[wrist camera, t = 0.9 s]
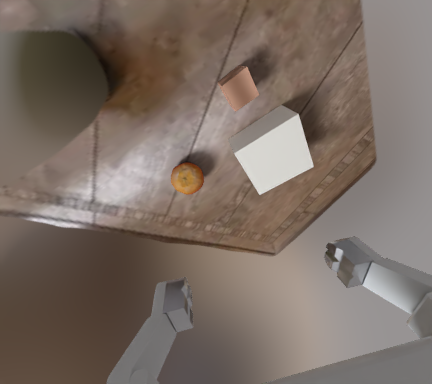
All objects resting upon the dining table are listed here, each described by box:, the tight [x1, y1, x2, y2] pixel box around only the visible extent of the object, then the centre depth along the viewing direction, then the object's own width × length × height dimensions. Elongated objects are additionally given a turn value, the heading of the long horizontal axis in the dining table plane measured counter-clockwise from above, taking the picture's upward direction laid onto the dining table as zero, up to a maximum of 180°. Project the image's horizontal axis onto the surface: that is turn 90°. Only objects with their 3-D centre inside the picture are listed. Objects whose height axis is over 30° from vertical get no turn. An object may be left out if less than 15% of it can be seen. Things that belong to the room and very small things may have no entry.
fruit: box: [171, 162, 204, 194], centre depth 44 cm, size 8×8×8 cm
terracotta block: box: [218, 65, 259, 112], centre depth 33 cm, size 5×5×6 cm
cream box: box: [228, 105, 314, 195], centre depth 42 cm, size 14×14×8 cm
